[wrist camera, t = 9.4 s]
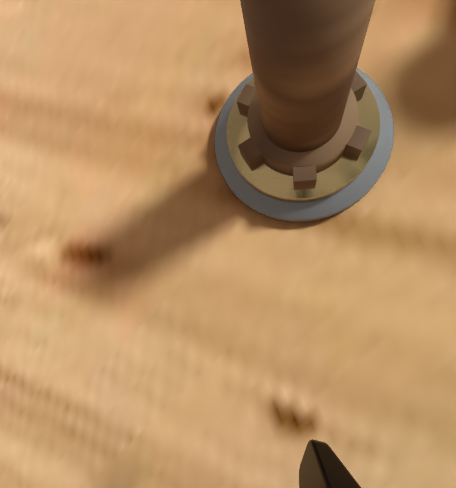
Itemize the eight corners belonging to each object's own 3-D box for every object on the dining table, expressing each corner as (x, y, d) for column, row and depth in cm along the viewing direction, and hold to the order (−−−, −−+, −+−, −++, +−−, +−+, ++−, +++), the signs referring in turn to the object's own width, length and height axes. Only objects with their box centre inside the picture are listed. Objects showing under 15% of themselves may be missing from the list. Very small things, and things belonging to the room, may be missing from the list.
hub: (402, 96, 20) (407, 86, 19) (334, 227, 19) (336, 223, 18) (269, 51, 22) (267, 40, 21) (205, 168, 21) (200, 161, 20)
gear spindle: (389, 98, 19) (546, -223, 7) (332, 207, 18) (402, 53, 7) (271, 57, 21) (245, -251, 9) (217, 156, 20) (118, -35, 9)
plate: (420, 96, 20) (426, 88, 20) (341, 252, 20) (343, 250, 19) (263, 43, 23) (262, 34, 22) (188, 179, 22) (185, 175, 22)
